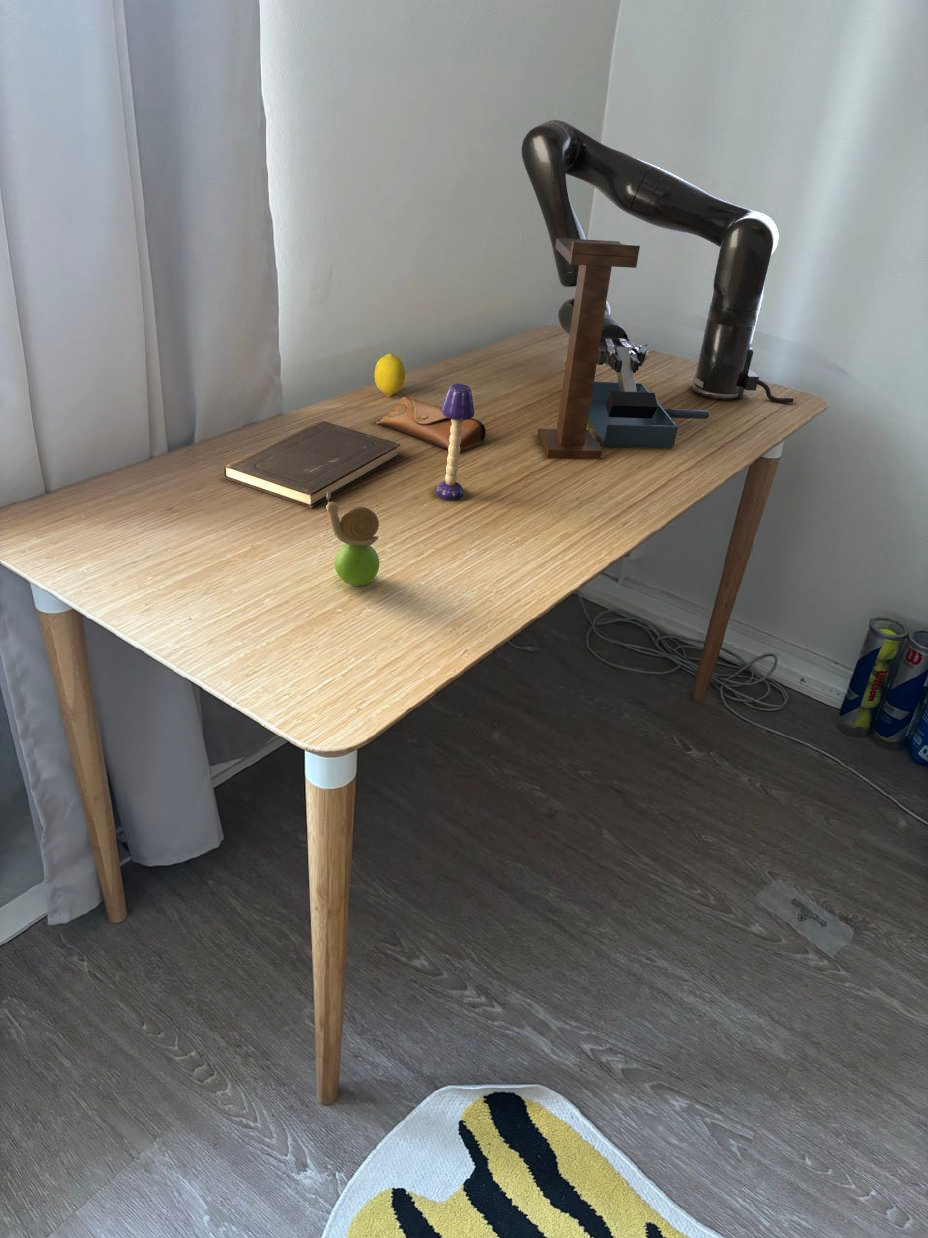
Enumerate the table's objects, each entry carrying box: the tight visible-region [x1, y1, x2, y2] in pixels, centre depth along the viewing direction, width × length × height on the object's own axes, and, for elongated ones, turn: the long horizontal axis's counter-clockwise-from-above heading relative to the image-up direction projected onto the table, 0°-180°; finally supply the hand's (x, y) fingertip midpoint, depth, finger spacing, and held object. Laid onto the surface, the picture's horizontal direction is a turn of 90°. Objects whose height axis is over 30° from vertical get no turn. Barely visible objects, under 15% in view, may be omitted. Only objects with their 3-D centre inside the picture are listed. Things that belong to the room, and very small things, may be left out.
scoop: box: [588, 381, 711, 449], centre depth 167 cm, size 22×22×4 cm
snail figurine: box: [325, 492, 380, 587], centre depth 111 cm, size 5×6×12 cm
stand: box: [536, 238, 641, 460], centre depth 147 cm, size 10×11×34 cm
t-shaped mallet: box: [606, 347, 658, 420], centre depth 164 cm, size 14×8×3 cm, turn 7°
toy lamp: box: [435, 383, 475, 501], centre depth 133 cm, size 5×5×17 cm
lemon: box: [374, 352, 406, 398], centre depth 168 cm, size 6×6×8 cm
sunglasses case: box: [375, 393, 487, 452], centre depth 156 cm, size 18×7×7 cm
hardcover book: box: [223, 419, 401, 509], centre depth 141 cm, size 16×23×2 cm
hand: (627, 367), depth 164 cm, fingers closed on t-shaped mallet, 2 cm apart
